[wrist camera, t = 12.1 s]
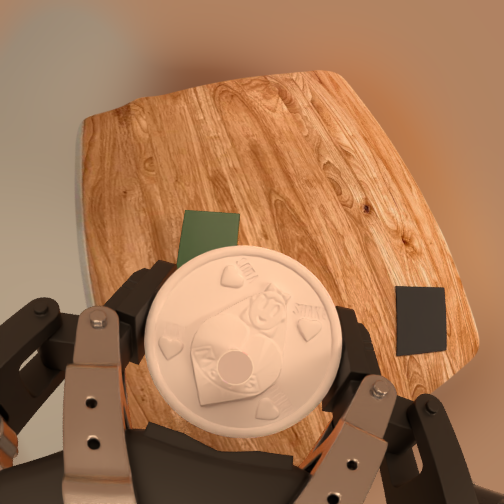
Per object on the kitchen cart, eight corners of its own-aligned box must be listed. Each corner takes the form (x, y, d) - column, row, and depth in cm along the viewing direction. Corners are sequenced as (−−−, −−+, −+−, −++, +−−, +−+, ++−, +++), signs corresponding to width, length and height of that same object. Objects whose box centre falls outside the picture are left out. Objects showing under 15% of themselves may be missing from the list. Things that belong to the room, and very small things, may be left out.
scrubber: (233, 303, 31) (232, 296, 27) (180, 298, 31) (172, 291, 27) (239, 228, 34) (239, 213, 30) (190, 224, 34) (185, 209, 30)
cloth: (445, 350, 30) (446, 350, 30) (396, 355, 30) (397, 355, 30) (443, 287, 33) (444, 287, 33) (395, 286, 33) (396, 286, 33)
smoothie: (169, 355, 17) (18, 360, 4) (225, 277, 19) (212, 115, 6) (252, 411, 16) (304, 549, 3) (306, 330, 18) (463, 276, 5)
